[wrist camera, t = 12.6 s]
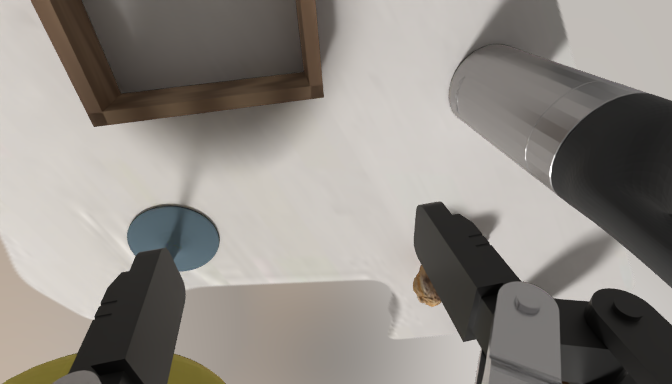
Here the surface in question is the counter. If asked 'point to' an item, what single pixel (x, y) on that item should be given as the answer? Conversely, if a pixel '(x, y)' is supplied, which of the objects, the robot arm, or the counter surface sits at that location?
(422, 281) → the lion figurine
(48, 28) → the open-front crate
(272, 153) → the counter surface
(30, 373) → the cocktail glass
